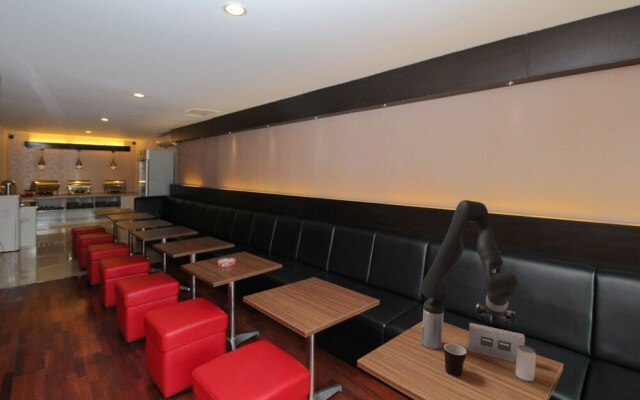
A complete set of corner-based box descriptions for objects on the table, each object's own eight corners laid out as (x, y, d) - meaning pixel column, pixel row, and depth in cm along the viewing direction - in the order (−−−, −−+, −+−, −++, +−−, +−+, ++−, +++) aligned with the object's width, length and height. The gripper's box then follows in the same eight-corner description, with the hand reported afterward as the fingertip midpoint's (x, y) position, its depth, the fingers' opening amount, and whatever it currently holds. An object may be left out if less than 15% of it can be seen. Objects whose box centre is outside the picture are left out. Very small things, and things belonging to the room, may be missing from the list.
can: (537, 383, 124) (539, 354, 123) (519, 380, 125) (521, 352, 124) (529, 373, 130) (531, 345, 129) (512, 370, 131) (514, 343, 131)
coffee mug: (455, 380, 124) (456, 356, 123) (438, 368, 131) (439, 346, 131) (474, 373, 129) (475, 350, 128) (456, 361, 137) (458, 340, 136)
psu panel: (467, 351, 146) (469, 326, 145) (468, 346, 150) (469, 322, 149) (523, 365, 136) (525, 338, 135) (521, 359, 140) (523, 334, 139)
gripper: (517, 297, 122) (512, 314, 133) (477, 290, 128) (475, 307, 139) (517, 315, 117) (512, 331, 128) (476, 307, 124) (474, 323, 135)
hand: (493, 319), depth 134 cm, fingers open, 8 cm apart
